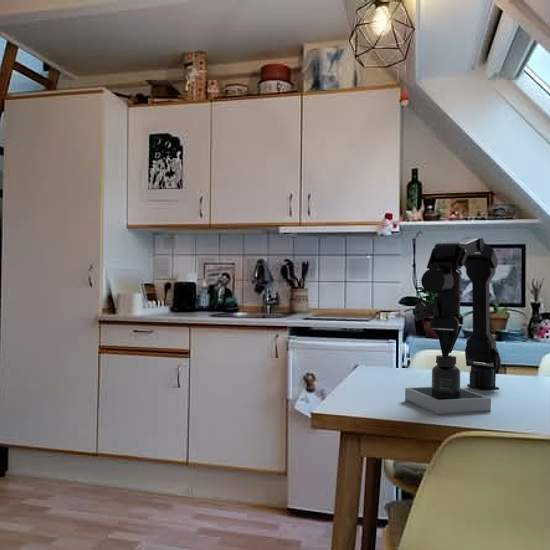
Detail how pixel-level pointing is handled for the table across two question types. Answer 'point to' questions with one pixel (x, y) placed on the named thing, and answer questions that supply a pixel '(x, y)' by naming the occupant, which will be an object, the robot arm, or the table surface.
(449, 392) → the supplement bottle
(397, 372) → the table surface
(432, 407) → the tub
